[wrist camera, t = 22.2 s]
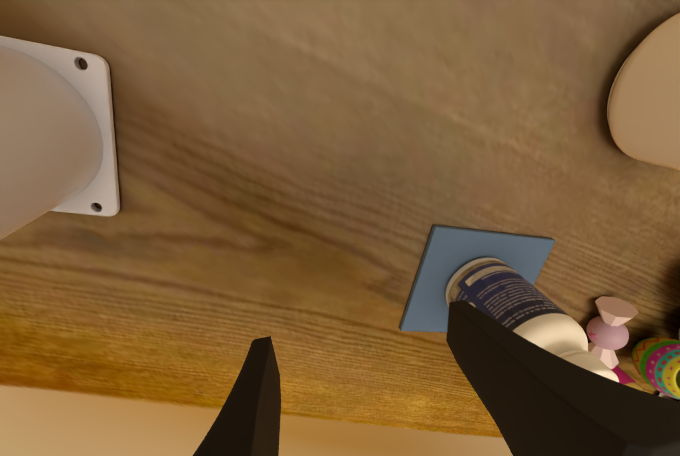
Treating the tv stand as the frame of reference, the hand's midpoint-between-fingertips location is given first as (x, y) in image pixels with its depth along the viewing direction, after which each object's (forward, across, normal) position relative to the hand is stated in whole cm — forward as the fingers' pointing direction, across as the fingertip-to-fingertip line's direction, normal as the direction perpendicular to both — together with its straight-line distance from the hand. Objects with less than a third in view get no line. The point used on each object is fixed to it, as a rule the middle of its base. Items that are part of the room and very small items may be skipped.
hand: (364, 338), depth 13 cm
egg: (+4, -28, +16) cm, 32 cm away
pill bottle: (+9, -11, +6) cm, 15 cm away
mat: (+9, -11, +6) cm, 16 cm away
